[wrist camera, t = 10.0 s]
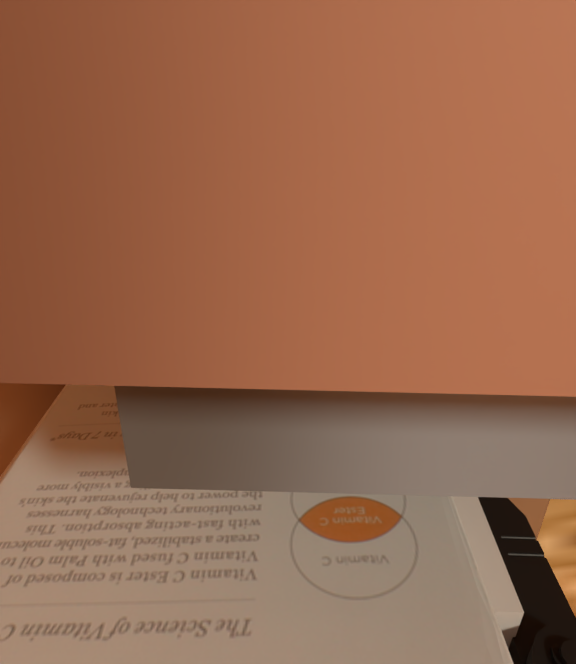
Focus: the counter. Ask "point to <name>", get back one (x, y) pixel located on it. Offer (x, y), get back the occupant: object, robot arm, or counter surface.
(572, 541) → the counter surface
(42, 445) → the small box
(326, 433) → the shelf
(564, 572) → the counter surface
